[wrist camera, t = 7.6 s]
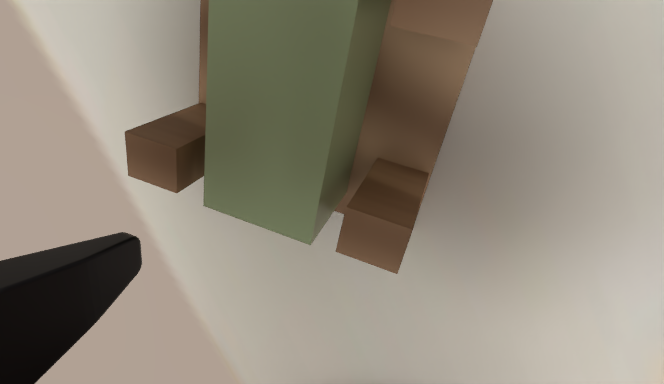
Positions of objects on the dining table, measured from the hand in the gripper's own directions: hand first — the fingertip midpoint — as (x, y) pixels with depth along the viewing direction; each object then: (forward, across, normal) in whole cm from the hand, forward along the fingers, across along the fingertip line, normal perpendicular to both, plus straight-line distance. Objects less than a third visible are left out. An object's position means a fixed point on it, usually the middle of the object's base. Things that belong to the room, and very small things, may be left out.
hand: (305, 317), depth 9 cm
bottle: (+10, +4, -5) cm, 12 cm away
